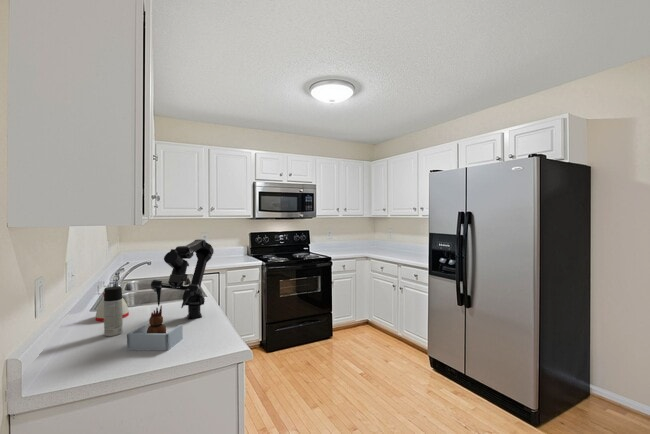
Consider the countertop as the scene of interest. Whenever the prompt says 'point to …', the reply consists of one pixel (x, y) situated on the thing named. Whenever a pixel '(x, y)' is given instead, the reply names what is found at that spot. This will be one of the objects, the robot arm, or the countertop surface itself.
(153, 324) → the wooden figurine
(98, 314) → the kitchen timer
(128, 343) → the cubby
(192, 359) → the countertop surface
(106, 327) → the spray can
